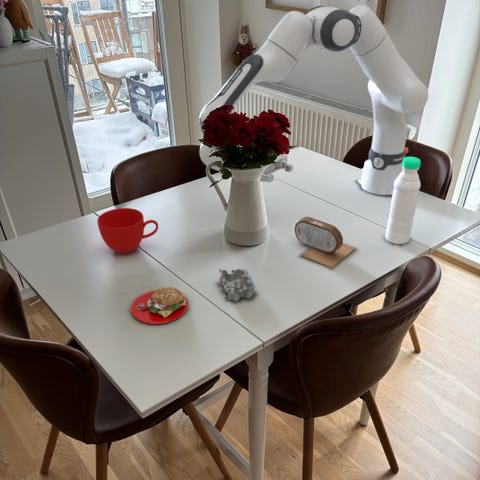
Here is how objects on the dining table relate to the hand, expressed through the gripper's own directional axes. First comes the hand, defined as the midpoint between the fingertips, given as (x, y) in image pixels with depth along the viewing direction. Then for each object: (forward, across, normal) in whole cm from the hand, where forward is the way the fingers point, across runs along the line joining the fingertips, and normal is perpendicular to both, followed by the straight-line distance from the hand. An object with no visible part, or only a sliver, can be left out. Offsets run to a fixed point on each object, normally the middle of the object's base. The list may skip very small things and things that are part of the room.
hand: (282, 173), depth 143 cm
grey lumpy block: (+8, -31, +20) cm, 38 cm away
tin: (+14, -1, +19) cm, 24 cm away
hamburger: (-2, -49, +20) cm, 53 cm away
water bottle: (+30, +19, +20) cm, 40 cm away
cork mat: (+18, 0, +20) cm, 26 cm away
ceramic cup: (-30, -34, +20) cm, 49 cm away
